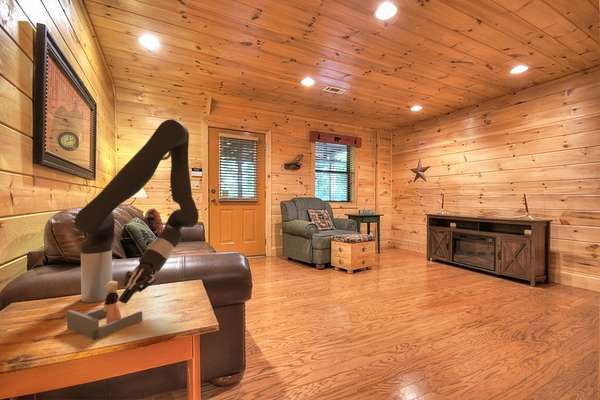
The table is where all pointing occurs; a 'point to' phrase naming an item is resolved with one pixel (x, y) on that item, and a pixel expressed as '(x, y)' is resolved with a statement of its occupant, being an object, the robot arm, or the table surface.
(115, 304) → the grandmother figurine
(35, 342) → the table surface
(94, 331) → the charcoal bay
